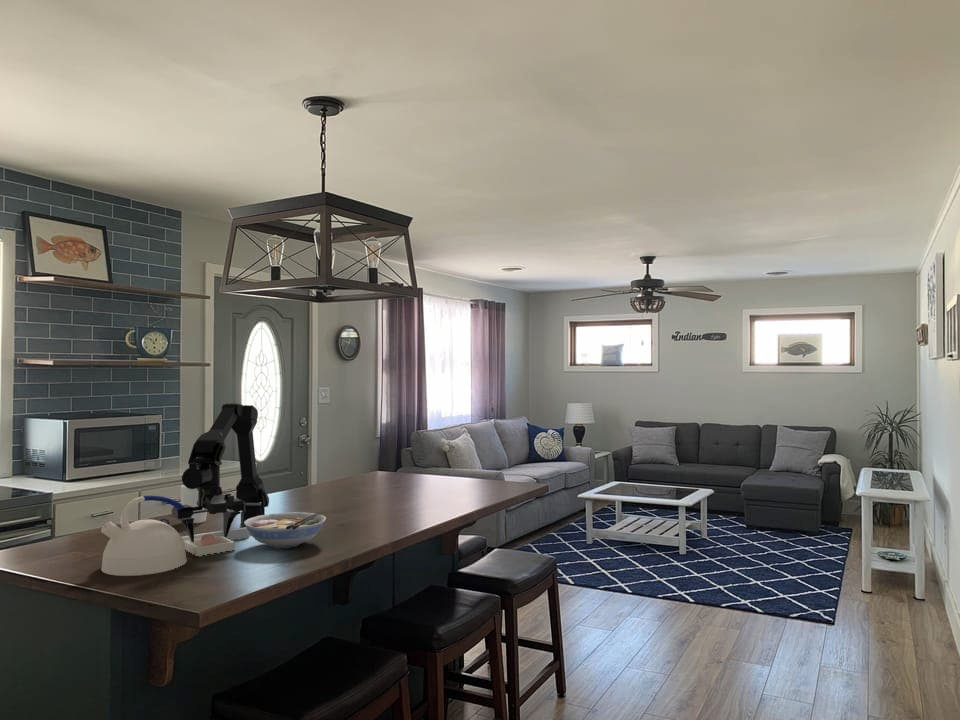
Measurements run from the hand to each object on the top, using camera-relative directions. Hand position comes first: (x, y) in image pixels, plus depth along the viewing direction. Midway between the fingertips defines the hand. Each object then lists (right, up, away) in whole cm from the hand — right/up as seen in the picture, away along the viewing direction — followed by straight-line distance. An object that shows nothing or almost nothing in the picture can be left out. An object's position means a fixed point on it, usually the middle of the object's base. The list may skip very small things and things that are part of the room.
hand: (209, 539), depth 210 cm
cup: (-19, -4, +39) cm, 43 cm away
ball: (0, 0, 0) cm, 0 cm away
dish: (0, -3, 0) cm, 3 cm away
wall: (-2, -3, +9) cm, 10 cm away
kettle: (-11, -3, -16) cm, 19 cm away
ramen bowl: (+20, -3, +5) cm, 21 cm away
